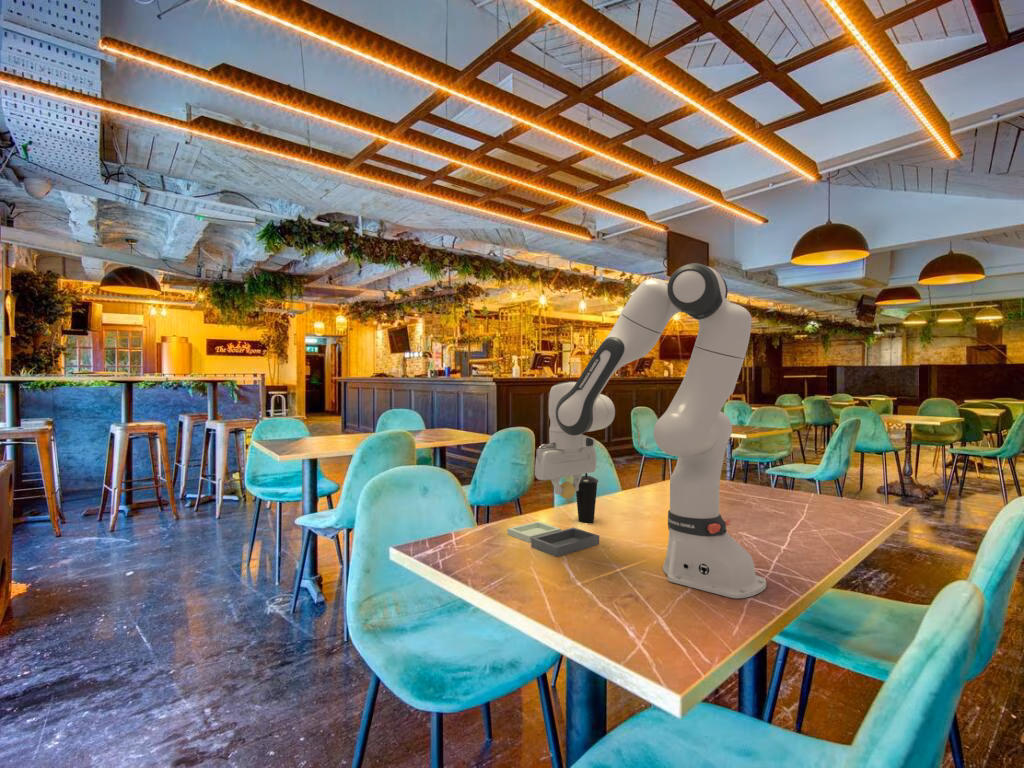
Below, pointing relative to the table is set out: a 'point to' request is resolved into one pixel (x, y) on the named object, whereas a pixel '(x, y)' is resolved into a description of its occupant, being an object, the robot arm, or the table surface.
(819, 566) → the table surface
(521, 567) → the table surface
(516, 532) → the tray
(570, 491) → the ball
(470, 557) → the table surface
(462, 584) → the table surface
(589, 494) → the drinking cup
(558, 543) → the dish
